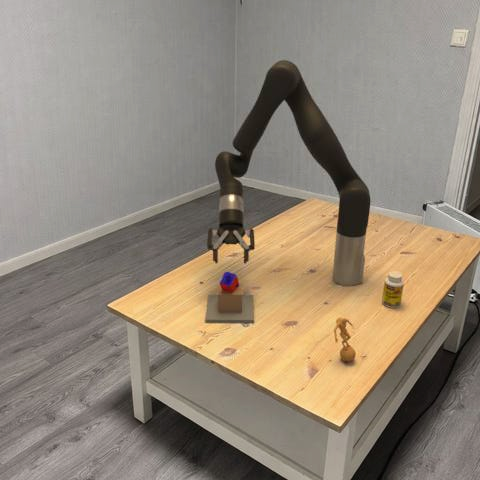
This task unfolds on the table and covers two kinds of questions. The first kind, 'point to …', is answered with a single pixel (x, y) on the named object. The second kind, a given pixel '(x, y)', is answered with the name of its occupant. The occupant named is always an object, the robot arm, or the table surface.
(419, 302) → the table surface
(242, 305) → the plate
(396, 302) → the supplement bottle
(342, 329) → the figurine
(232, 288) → the toy building block
